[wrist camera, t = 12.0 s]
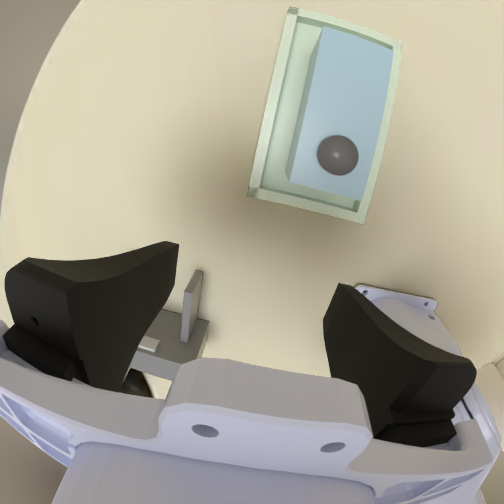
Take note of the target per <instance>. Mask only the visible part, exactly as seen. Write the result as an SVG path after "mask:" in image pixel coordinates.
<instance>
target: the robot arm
mask: <svg viewBox="0 0 504 504" xmlns="http://www.w3.org/2000/svg"><path fill="white" fill-rule="evenodd" d="M178 250H179V244H176V243H172V242H168V241H163V242H159V243H156V244H153V245H149V246H146V247H143V248H140V249H137V250H133V251H130V252H126V253H122V254H119V255H114V256H110V257H104V258H98V259H88V260H75V261H61V260H46V259H37V258H30V257H28V258H26V259H25V260H23V261H21V262H20V263H18V264H17V265H15V266H14V267H13V268H11V269H10V270H9V271H8V272H7V273H6V277H5V292H6V297H7V301H8V304H9V308H10V311H11V314H12V318H13V321H14V323H15V324H14V325H13V326H12V327H11V328H10V329H9V327H8V326H7V325H6V323H5V322H3V321H2V320H1V319H0V416H1V417H2V418H4V419H5V420H6V421H7V422H8V423H9V424H10V425H12V426H13V427H14V428H15V429H16V430H17V431H19V432H20V433H21V434H22V435H23V436H25V437H26V438H27V439H28V440H30V441H31V442H32V443H33V444H35V445H36V446H38V447H39V448H40V449H41V450H43V451H44V452H46V453H47V454H48V455H50V456H51V457H53V458H54V459H56V460H57V461H59V462H60V463H62V464H63V465H65V466H67V467H68V469H67V471H66V473H65V475H64V477H63V479H62V482H61V484H60V486H59V488H58V490H57V493H56V495H55V497H54V499H53V502H52V504H486V502H485V499H484V496H483V494H482V491H481V489H480V485H481V484H482V482H483V480H484V479H485V478H486V476H487V474H488V473H489V471H490V469H491V468H492V466H493V464H494V462H495V461H496V459H497V457H498V455H499V453H500V450H501V446H500V443H501V440H502V438H501V435H500V433H499V431H498V429H497V426H496V424H495V418H494V416H493V414H492V412H491V410H490V408H489V406H488V404H487V402H486V401H485V399H484V397H483V395H482V393H481V391H480V390H479V388H478V386H477V384H476V383H475V379H476V375H477V371H476V368H475V367H474V365H473V363H472V362H471V361H470V360H469V359H467V358H464V357H462V355H461V351H460V348H459V346H458V344H457V343H456V341H455V340H454V339H453V337H452V336H451V334H450V333H449V331H448V330H447V329H446V327H445V326H444V324H443V323H442V322H441V320H440V319H439V317H438V316H437V315H436V313H435V312H434V310H435V308H436V306H437V302H436V300H434V299H430V298H425V297H420V296H415V295H410V294H405V293H400V292H395V291H390V290H385V289H380V288H375V287H370V286H365V285H357V286H356V287H355V288H354V287H352V286H350V285H346V284H341V283H338V286H337V288H336V291H335V293H334V295H333V298H332V300H331V303H330V305H329V307H328V309H327V312H326V314H325V316H324V318H323V331H324V341H325V346H326V352H327V357H328V362H329V367H330V373H331V378H330V377H322V376H315V375H308V374H301V373H295V372H289V371H283V370H277V369H272V368H267V367H261V366H256V365H252V364H247V363H242V362H238V361H233V360H229V359H216V358H198V359H196V360H193V361H190V362H187V363H184V364H182V365H181V366H180V368H179V369H178V371H177V373H176V375H175V377H174V378H173V381H172V384H171V386H170V389H169V391H168V394H167V396H166V399H165V400H163V399H155V398H148V397H141V396H135V395H129V394H123V393H119V392H120V389H121V386H122V384H123V381H124V378H125V376H126V373H127V371H128V368H129V366H130V364H131V361H132V359H133V357H134V355H135V352H136V350H137V348H138V346H139V344H140V342H141V340H142V338H143V337H144V335H145V333H146V332H147V330H148V329H149V327H150V326H151V324H152V322H153V321H154V319H155V318H156V316H157V315H158V313H159V312H160V310H161V309H162V307H163V306H164V304H165V303H166V301H167V299H168V297H169V295H170V293H171V291H172V289H173V287H174V284H175V276H176V267H177V258H178ZM364 290H367V291H366V292H365V293H363V291H364ZM425 303H426V304H425Z"/></svg>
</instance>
